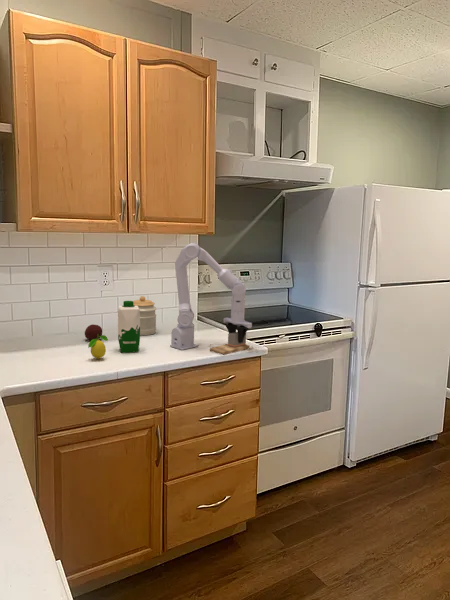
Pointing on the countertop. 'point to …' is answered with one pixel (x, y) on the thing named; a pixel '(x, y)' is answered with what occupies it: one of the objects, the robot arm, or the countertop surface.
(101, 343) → the lemon
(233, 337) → the sanding block
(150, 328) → the jar
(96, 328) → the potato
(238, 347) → the board
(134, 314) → the milk carton
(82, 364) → the countertop surface
